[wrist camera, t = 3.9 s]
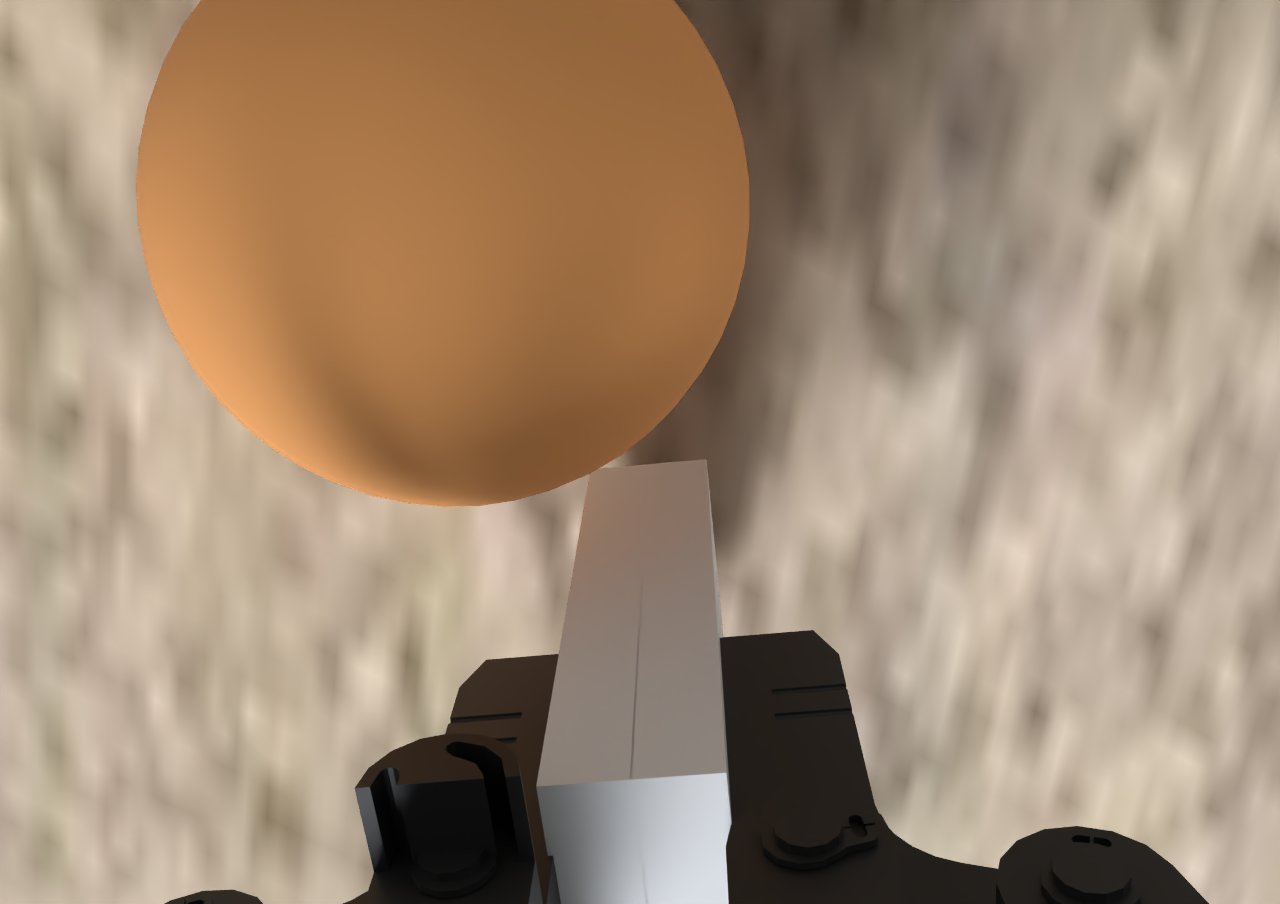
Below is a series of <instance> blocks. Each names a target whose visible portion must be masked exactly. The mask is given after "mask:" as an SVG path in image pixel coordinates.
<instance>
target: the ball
mask: <svg viewBox="0 0 1280 904" xmlns="http://www.w3.org/2000/svg"><path fill="white" fill-rule="evenodd" d="M136 192H137V208H138V225H139V231H140V236H141V241H142V246H143V252H144V257H145V262H146V266H147V269H148V272H149V275H150V278H151V281H152V285H153V288H154V291H155V294H156V297H157V300H158V302H159V305H160V307H161V309H162V311H163V313H164V315H165V318H166V320H167V322H168V324H169V326H170V328H171V331H172V333H173V335H174V337H175V339H176V341H177V343H178V344H179V346H180V347H181V349H182V351H183V352H184V354H185V356H186V357H187V359H188V360H189V362H190V364H191V365H192V367H193V369H194V370H195V372H196V373H197V374H198V376H199V377H200V378H201V379H202V381H203V382H204V383H205V384H206V386H207V387H208V388H209V389H210V391H211V392H212V393H213V394H214V396H215V397H216V398H217V400H218V401H219V402H220V403H221V404H222V405H223V406H224V407H225V408H226V409H227V410H228V411H229V412H230V413H231V414H232V415H233V416H234V417H235V418H236V419H237V420H238V421H239V422H240V423H241V424H242V425H243V426H244V427H246V428H247V429H248V430H249V431H251V432H252V433H253V434H254V435H256V436H257V437H258V438H259V439H261V440H262V441H263V442H265V443H266V444H267V445H268V446H270V447H271V448H272V449H274V450H275V451H277V452H278V453H280V454H282V455H283V456H285V457H286V458H288V459H290V460H291V461H293V462H294V463H296V464H298V465H299V466H301V467H302V468H304V469H307V470H309V471H311V472H313V473H315V474H317V475H319V476H321V477H323V478H326V479H328V480H330V481H332V482H334V483H336V484H339V485H342V486H345V487H348V488H351V489H354V490H357V491H360V492H363V493H366V494H369V495H372V496H376V497H381V498H386V499H390V500H395V501H400V502H404V503H409V504H420V505H431V506H442V507H452V506H481V505H488V504H494V503H501V502H508V501H514V500H518V499H522V498H525V497H529V496H532V495H536V494H539V493H543V492H546V491H550V490H552V489H554V488H557V487H559V486H562V485H564V484H566V483H569V482H571V481H573V480H576V479H578V478H580V477H583V476H585V475H587V474H590V473H592V472H593V471H595V470H597V469H598V468H600V467H602V466H603V465H605V464H607V463H609V462H610V461H612V460H614V459H615V458H617V457H619V456H621V455H622V454H623V453H624V452H626V451H627V450H628V449H630V448H631V447H632V446H633V445H635V444H636V443H637V442H639V441H640V440H641V439H643V438H644V437H645V436H646V435H648V434H649V433H650V432H651V431H652V430H653V429H654V428H655V427H656V426H657V425H658V424H659V423H660V422H661V421H662V420H663V419H664V418H665V417H666V416H667V415H668V414H669V413H670V412H671V411H672V410H673V409H674V408H675V407H676V405H677V404H678V403H679V401H680V400H681V399H682V397H683V396H684V395H685V393H686V392H687V391H688V389H689V388H690V387H691V385H692V384H693V383H694V381H695V380H696V379H697V377H698V376H699V375H700V373H701V372H702V371H703V369H704V367H705V366H706V364H707V362H708V360H709V359H710V357H711V355H712V353H713V351H714V350H715V348H716V346H717V344H718V343H719V341H720V339H721V337H722V334H723V332H724V330H725V327H726V325H727V322H728V320H729V317H730V315H731V312H732V310H733V307H734V305H735V302H736V298H737V294H738V290H739V286H740V282H741V278H742V274H743V270H744V266H745V258H746V250H747V242H748V233H749V223H750V205H749V176H748V169H747V162H746V155H745V148H744V141H743V137H742V134H741V130H740V127H739V123H738V119H737V116H736V112H735V109H734V105H733V102H732V99H731V97H730V95H729V92H728V90H727V88H726V85H725V83H724V80H723V78H722V76H721V73H720V71H719V69H718V66H717V64H716V62H715V61H714V59H713V57H712V56H711V54H710V52H709V50H708V49H707V47H706V45H705V44H704V42H703V40H702V38H701V37H700V35H699V33H698V32H697V30H696V28H695V27H694V26H693V24H692V23H691V22H690V20H689V19H688V18H687V17H686V15H685V14H684V13H683V11H682V10H681V9H680V8H679V6H678V5H677V4H676V2H675V1H674V0H201V1H200V2H199V4H198V5H197V7H196V8H195V9H194V11H193V12H192V13H191V15H190V16H189V18H188V19H187V20H186V22H185V23H184V24H183V26H182V28H181V30H180V31H179V33H178V35H177V37H176V39H175V41H174V43H173V45H172V47H171V48H170V50H169V52H168V54H167V56H166V58H165V60H164V62H163V65H162V67H161V70H160V73H159V76H158V79H157V81H156V84H155V87H154V90H153V93H152V95H151V98H150V101H149V104H148V107H147V111H146V116H145V121H144V125H143V130H142V135H141V140H140V145H139V153H138V168H137V182H136Z"/></svg>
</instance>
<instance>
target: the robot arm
mask: <svg viewBox="0 0 1280 904" xmlns="http://www.w3.org/2000/svg"><path fill="white" fill-rule="evenodd" d="M450 720H451V723H450V724H448V727H447V730H446V734H444V735H439V736H434V737H428V738H423V739H419V740H417V741H414V742H412V743H410V744H407V745H405V746H403V747H400V748H398V749H395V750H393V751H391V752H390V753H388V754H387V755H386V756H384V757H383V758H382V759H380V760H379V761H378V762H376V763H375V764H374V765H372V766H371V767H369V768H368V770H367V771H366V773H365V774H364V775H363V777H362V778H361V780H360V781H359V783H358V784H357V786H356V787H355V791H356V796H357V800H358V804H359V809H360V813H361V817H362V822H363V826H364V830H365V834H366V839H367V843H368V847H369V852H370V856H371V860H372V865H373V869H374V875H373V878H372V881H371V884H370V887H369V890H368V891H367V892H365V893H363V894H362V895H360V896H358V897H356V898H355V899H353V900H351V901H348V902H346V903H343V904H1209V903H1208V902H1207V901H1206V900H1205V899H1204V898H1203V897H1202V896H1201V895H1200V894H1199V893H1198V892H1197V891H1196V890H1195V888H1194V887H1193V886H1192V885H1191V884H1190V883H1189V882H1188V881H1187V880H1186V879H1185V878H1184V877H1183V876H1182V875H1181V874H1180V873H1179V871H1178V870H1177V869H1176V868H1175V867H1174V866H1173V865H1172V864H1170V863H1169V862H1168V861H1167V860H1165V859H1164V858H1163V857H1161V856H1160V855H1159V854H1157V853H1156V852H1155V851H1153V850H1152V849H1151V848H1149V847H1148V846H1147V845H1145V844H1143V843H1140V842H1138V841H1135V840H1133V839H1130V838H1128V837H1125V836H1123V835H1120V834H1118V833H1115V832H1113V831H1106V830H1099V829H1093V828H1086V827H1079V826H1074V827H1063V828H1053V829H1044V830H1041V831H1039V832H1037V833H1034V834H1032V835H1029V836H1027V837H1025V838H1022V839H1020V840H1018V841H1016V842H1015V843H1014V845H1013V846H1012V847H1011V848H1010V849H1009V850H1008V851H1007V852H1006V853H1005V854H1004V855H1003V856H1002V857H1001V859H1000V863H999V868H998V869H995V868H989V867H983V866H977V865H971V864H965V863H960V862H955V861H951V860H947V859H943V858H939V857H935V856H933V855H931V854H928V853H926V852H924V851H921V850H919V849H917V848H915V847H912V846H911V845H909V844H908V843H907V842H905V841H904V840H902V839H901V838H899V837H898V836H897V835H895V834H894V833H893V832H892V831H891V830H890V829H889V827H888V826H887V824H886V822H885V821H884V819H883V817H882V815H881V814H879V813H878V811H877V808H876V806H875V804H874V799H873V795H872V791H871V787H870V783H869V779H868V774H867V770H866V766H865V762H864V758H863V753H862V749H861V745H860V741H859V737H858V732H857V728H856V724H855V720H854V716H853V714H852V707H851V703H850V699H849V695H848V691H847V689H846V682H845V678H844V674H843V670H842V665H841V661H840V657H839V654H838V653H837V652H836V651H835V650H834V649H833V648H832V647H831V646H829V645H828V644H827V643H826V642H825V641H824V640H823V639H822V638H821V637H820V636H819V635H818V634H817V633H815V632H814V631H813V630H810V631H798V632H785V633H773V634H760V635H748V636H735V637H723V627H722V616H721V606H720V595H719V585H718V574H717V564H716V553H715V543H714V532H713V522H712V511H711V501H710V490H709V480H708V469H707V459H701V460H690V461H679V462H668V463H656V464H645V465H634V466H623V467H612V468H601V469H597V470H595V471H593V472H592V473H590V475H589V481H588V487H587V493H586V498H585V504H584V510H583V516H582V522H581V528H580V534H579V539H578V545H577V551H576V557H575V563H574V569H573V574H572V580H571V586H570V592H569V598H568V604H567V609H566V615H565V621H564V627H563V633H562V639H561V645H560V650H559V654H554V655H541V656H529V657H516V658H504V659H491V660H486V661H485V662H484V663H483V664H482V665H481V666H480V667H479V668H478V669H477V670H476V671H475V672H474V673H473V674H472V675H471V676H470V677H469V678H468V679H467V680H466V681H465V682H464V683H463V684H462V685H461V686H460V687H459V690H458V694H457V697H456V700H455V704H454V707H453V710H452V714H451V717H450ZM165 904H263V903H262V902H261V901H260V900H259V899H258V898H257V897H255V896H252V895H248V894H245V893H242V892H239V891H236V890H215V891H201V892H198V893H195V894H191V895H188V896H184V897H181V898H178V899H174V900H171V901H169V902H167V903H165Z"/></svg>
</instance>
